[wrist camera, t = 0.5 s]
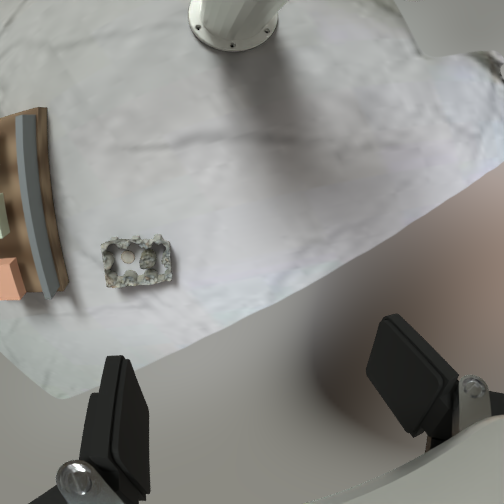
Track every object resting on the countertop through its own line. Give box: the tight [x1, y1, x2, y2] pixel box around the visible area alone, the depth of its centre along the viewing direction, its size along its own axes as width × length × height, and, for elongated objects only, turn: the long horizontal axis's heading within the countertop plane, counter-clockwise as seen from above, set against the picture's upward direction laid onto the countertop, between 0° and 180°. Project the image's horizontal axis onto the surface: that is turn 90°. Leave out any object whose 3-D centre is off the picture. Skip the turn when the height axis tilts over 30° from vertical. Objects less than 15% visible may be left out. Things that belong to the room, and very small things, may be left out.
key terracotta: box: [0, 257, 26, 300], centre depth 33 cm, size 6×6×2 cm
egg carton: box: [101, 234, 172, 288], centre depth 42 cm, size 11×8×4 cm
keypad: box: [0, 107, 69, 299], centre depth 32 cm, size 28×16×7 cm, turn 179°
